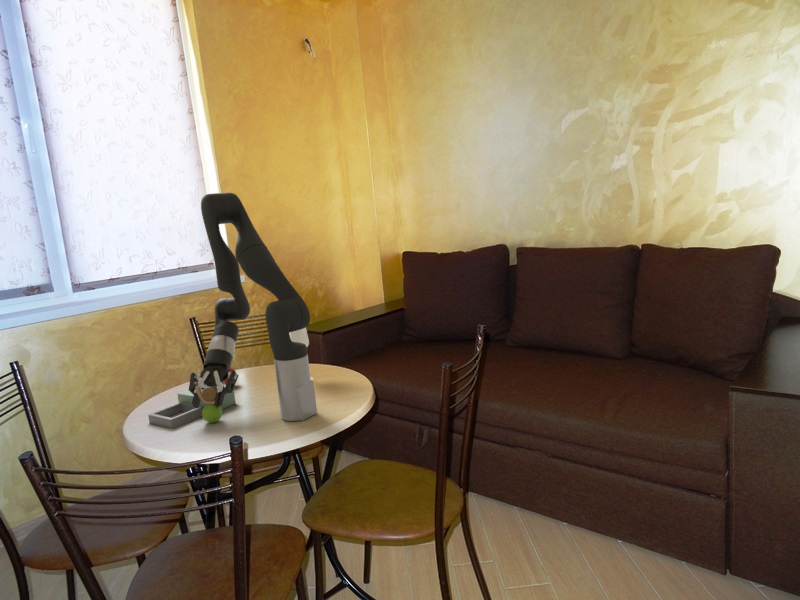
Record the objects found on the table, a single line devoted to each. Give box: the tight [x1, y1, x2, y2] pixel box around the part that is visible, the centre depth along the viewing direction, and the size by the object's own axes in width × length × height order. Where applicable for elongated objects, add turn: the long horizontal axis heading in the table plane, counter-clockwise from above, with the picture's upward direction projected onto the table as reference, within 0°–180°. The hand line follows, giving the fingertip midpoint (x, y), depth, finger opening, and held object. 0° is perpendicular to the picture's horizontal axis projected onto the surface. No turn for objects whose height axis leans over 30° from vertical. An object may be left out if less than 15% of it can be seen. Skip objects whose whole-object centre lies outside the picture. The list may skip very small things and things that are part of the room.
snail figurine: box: [194, 382, 223, 423], centre depth 145 cm, size 5×6×12 cm
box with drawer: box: [147, 378, 236, 429], centre depth 155 cm, size 14×21×8 cm, turn 148°
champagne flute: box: [289, 327, 314, 381], centre depth 177 cm, size 7×7×24 cm
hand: (206, 406), depth 144 cm, fingers closed on snail figurine, 6 cm apart
